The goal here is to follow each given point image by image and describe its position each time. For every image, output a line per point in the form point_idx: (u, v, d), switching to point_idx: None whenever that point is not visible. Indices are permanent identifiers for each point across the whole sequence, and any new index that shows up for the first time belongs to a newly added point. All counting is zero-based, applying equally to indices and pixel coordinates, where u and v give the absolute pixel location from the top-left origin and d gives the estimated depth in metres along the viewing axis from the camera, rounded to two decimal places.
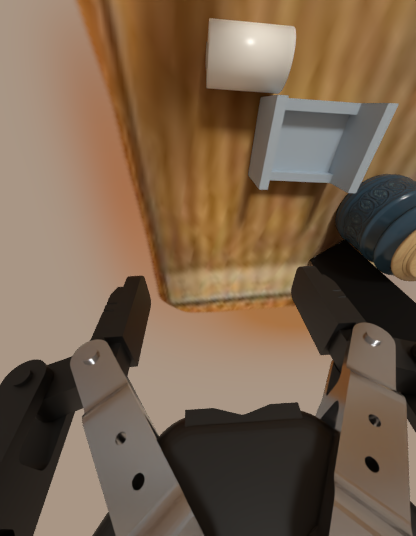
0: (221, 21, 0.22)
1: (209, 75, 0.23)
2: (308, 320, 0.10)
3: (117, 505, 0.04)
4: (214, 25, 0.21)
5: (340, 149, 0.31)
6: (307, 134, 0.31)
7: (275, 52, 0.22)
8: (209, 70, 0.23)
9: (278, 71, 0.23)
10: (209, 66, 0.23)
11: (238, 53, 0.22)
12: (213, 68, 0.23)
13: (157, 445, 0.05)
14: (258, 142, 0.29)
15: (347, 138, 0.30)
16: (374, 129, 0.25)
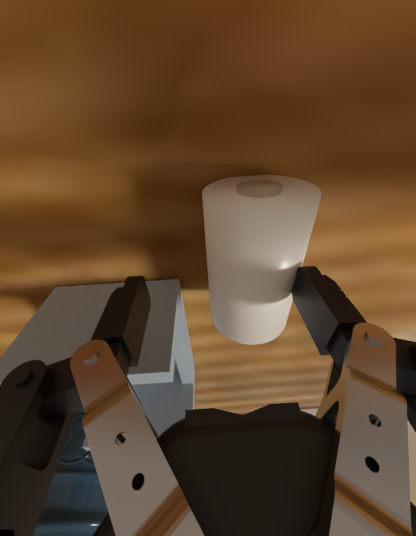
0: None
1: (286, 216, 0.08)
2: (308, 320, 0.10)
3: (117, 505, 0.04)
4: None
5: None
6: None
7: (290, 306, 0.13)
8: (296, 213, 0.08)
9: (276, 328, 0.13)
10: (304, 210, 0.08)
11: (302, 260, 0.11)
12: (298, 221, 0.09)
13: (157, 445, 0.05)
14: None
15: (157, 385, 0.23)
16: None
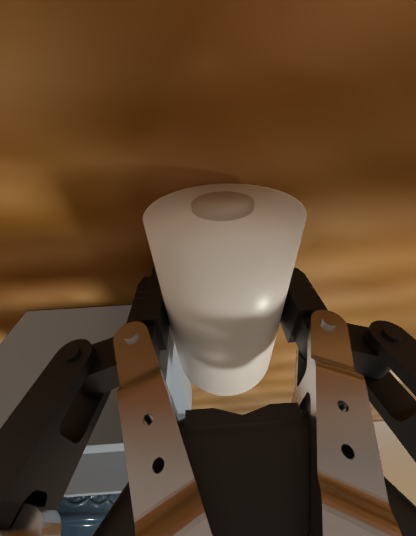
0: None
1: (217, 256, 0.05)
2: None
3: (137, 481, 0.04)
4: None
5: None
6: None
7: (263, 362, 0.10)
8: (235, 254, 0.05)
9: (238, 384, 0.10)
10: (248, 252, 0.05)
11: (270, 313, 0.08)
12: (241, 266, 0.06)
13: (157, 445, 0.05)
14: None
15: None
16: None
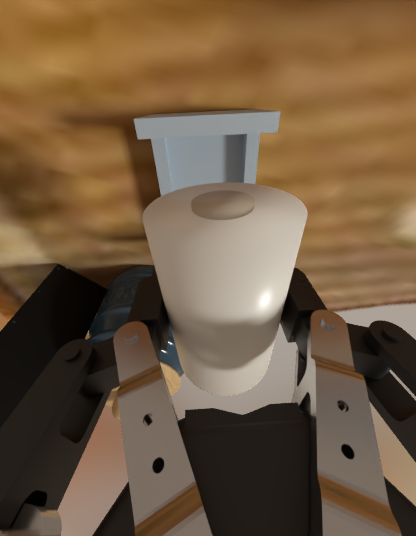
0: None
1: (217, 255, 0.05)
2: None
3: (137, 481, 0.04)
4: None
5: None
6: None
7: (264, 362, 0.10)
8: (234, 253, 0.05)
9: (238, 384, 0.10)
10: (248, 251, 0.05)
11: (270, 313, 0.08)
12: (241, 265, 0.06)
13: (157, 445, 0.05)
14: (205, 112, 0.18)
15: None
16: None
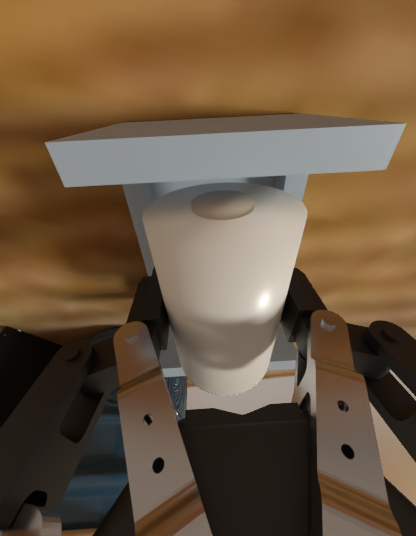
0: None
1: (217, 255, 0.05)
2: None
3: (137, 481, 0.04)
4: None
5: None
6: None
7: (264, 362, 0.10)
8: (234, 253, 0.05)
9: (238, 384, 0.10)
10: (248, 251, 0.05)
11: (270, 313, 0.08)
12: (241, 265, 0.06)
13: (157, 445, 0.05)
14: (215, 121, 0.09)
15: None
16: None
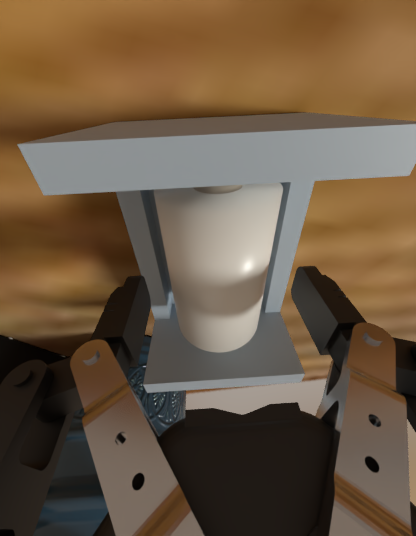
0: None
1: (208, 215, 0.07)
2: (308, 320, 0.10)
3: (117, 505, 0.04)
4: None
5: None
6: None
7: (249, 323, 0.12)
8: (221, 214, 0.07)
9: (227, 340, 0.12)
10: (231, 213, 0.07)
11: (252, 272, 0.09)
12: (227, 225, 0.07)
13: (157, 445, 0.05)
14: (215, 121, 0.09)
15: None
16: (263, 370, 0.13)
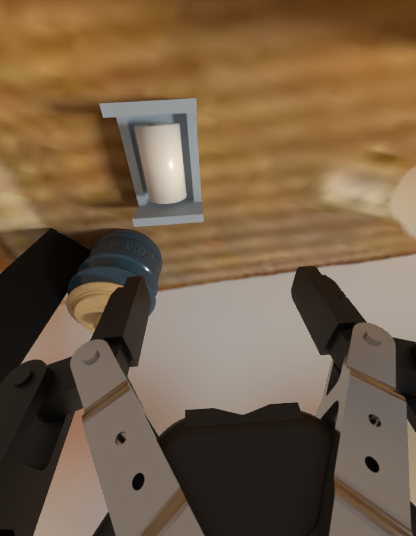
0: (180, 135, 0.27)
1: (150, 128, 0.24)
2: (308, 320, 0.10)
3: (117, 505, 0.04)
4: (179, 129, 0.26)
5: None
6: None
7: (176, 187, 0.29)
8: (154, 128, 0.24)
9: (167, 195, 0.29)
10: (157, 127, 0.24)
11: (170, 156, 0.26)
12: (156, 132, 0.24)
13: (157, 445, 0.05)
14: None
15: (177, 203, 0.34)
16: (185, 214, 0.30)
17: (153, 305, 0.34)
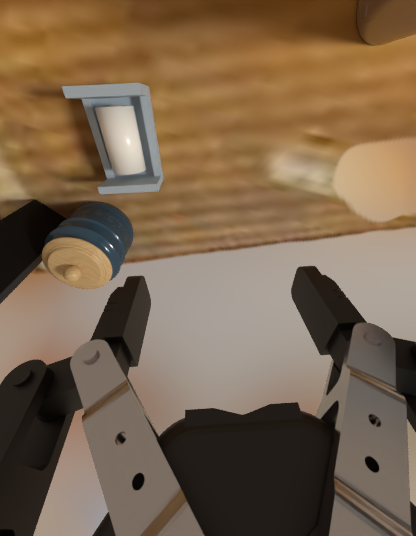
0: (134, 115, 0.32)
1: (105, 108, 0.30)
2: (308, 320, 0.10)
3: (117, 505, 0.04)
4: (132, 109, 0.31)
5: (133, 176, 0.40)
6: None
7: (133, 160, 0.34)
8: (108, 108, 0.30)
9: (125, 167, 0.34)
10: (110, 107, 0.30)
11: (125, 132, 0.32)
12: (110, 111, 0.30)
13: (157, 445, 0.05)
14: None
15: (139, 177, 0.39)
16: (142, 184, 0.36)
17: (118, 265, 0.40)
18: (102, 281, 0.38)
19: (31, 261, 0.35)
